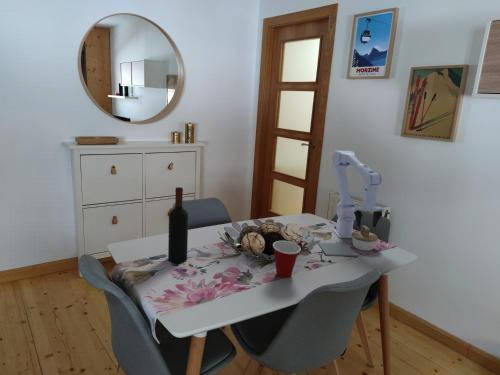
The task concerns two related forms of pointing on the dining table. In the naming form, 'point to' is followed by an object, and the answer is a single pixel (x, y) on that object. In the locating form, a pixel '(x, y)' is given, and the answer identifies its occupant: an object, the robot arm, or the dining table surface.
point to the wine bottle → (178, 230)
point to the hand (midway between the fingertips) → (366, 226)
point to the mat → (336, 249)
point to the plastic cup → (285, 257)
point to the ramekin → (363, 244)
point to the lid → (364, 235)
